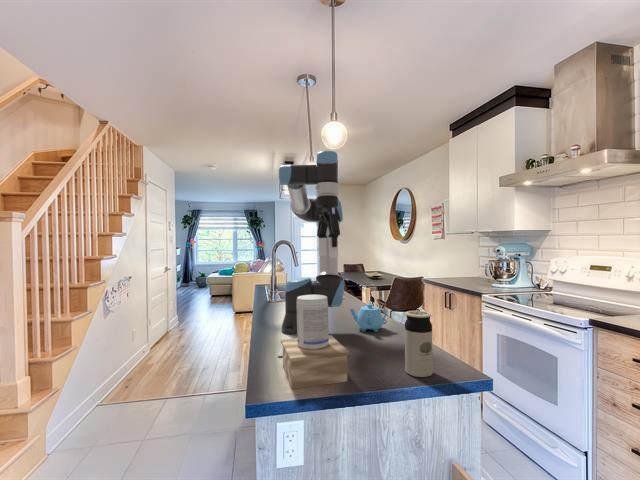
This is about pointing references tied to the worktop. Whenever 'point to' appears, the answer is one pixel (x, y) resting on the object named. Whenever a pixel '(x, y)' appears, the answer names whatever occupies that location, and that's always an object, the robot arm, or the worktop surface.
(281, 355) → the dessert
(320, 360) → the wooden block
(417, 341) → the travel mug
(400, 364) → the worktop surface
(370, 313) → the teapot
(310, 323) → the supplement tub
